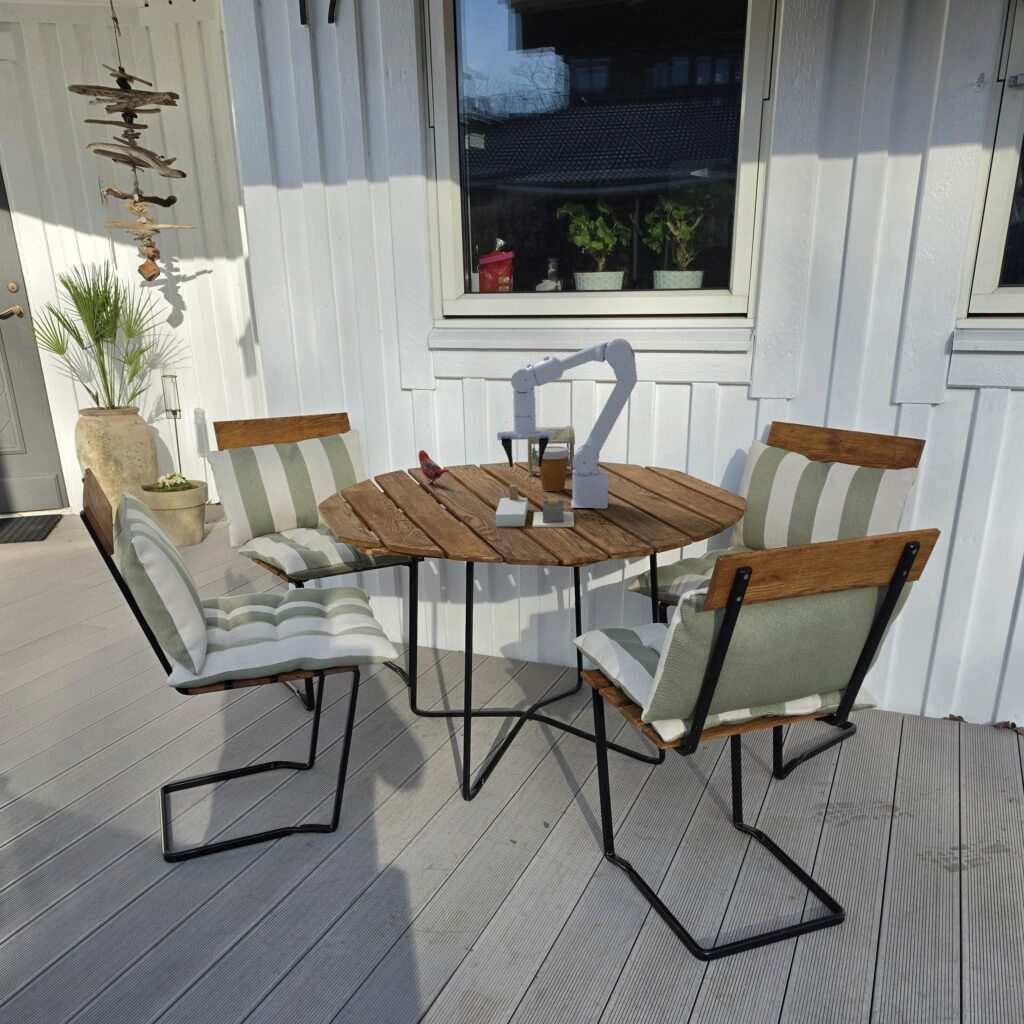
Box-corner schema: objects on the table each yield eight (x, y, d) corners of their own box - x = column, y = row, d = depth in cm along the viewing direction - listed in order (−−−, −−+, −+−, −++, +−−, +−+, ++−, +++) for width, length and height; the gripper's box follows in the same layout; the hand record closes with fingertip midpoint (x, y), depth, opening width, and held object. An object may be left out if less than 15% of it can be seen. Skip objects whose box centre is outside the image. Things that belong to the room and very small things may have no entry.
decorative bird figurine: (424, 479, 235) (422, 448, 232) (454, 489, 221) (452, 456, 218) (415, 481, 233) (414, 449, 230) (445, 491, 219) (444, 457, 216)
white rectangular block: (527, 508, 198) (527, 484, 196) (524, 526, 182) (523, 500, 181) (501, 509, 198) (500, 485, 197) (495, 526, 183) (494, 500, 181)
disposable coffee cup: (575, 491, 215) (575, 450, 212) (545, 495, 212) (544, 453, 208) (561, 484, 223) (560, 444, 220) (531, 488, 220) (531, 447, 217)
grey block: (563, 513, 190) (563, 496, 189) (563, 522, 183) (563, 504, 181) (543, 513, 191) (543, 496, 189) (542, 522, 183) (542, 504, 182)
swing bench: (528, 476, 235) (527, 430, 231) (527, 470, 244) (526, 425, 240) (575, 475, 235) (575, 428, 231) (572, 469, 244) (572, 424, 240)
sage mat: (573, 513, 192) (573, 511, 192) (573, 526, 181) (573, 524, 180) (534, 513, 193) (534, 512, 193) (532, 527, 181) (532, 525, 181)
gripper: (495, 418, 193) (497, 469, 197) (552, 417, 192) (552, 469, 195) (497, 414, 200) (499, 464, 203) (552, 413, 199) (553, 463, 202)
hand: (525, 466), depth 200 cm, fingers open, 7 cm apart
